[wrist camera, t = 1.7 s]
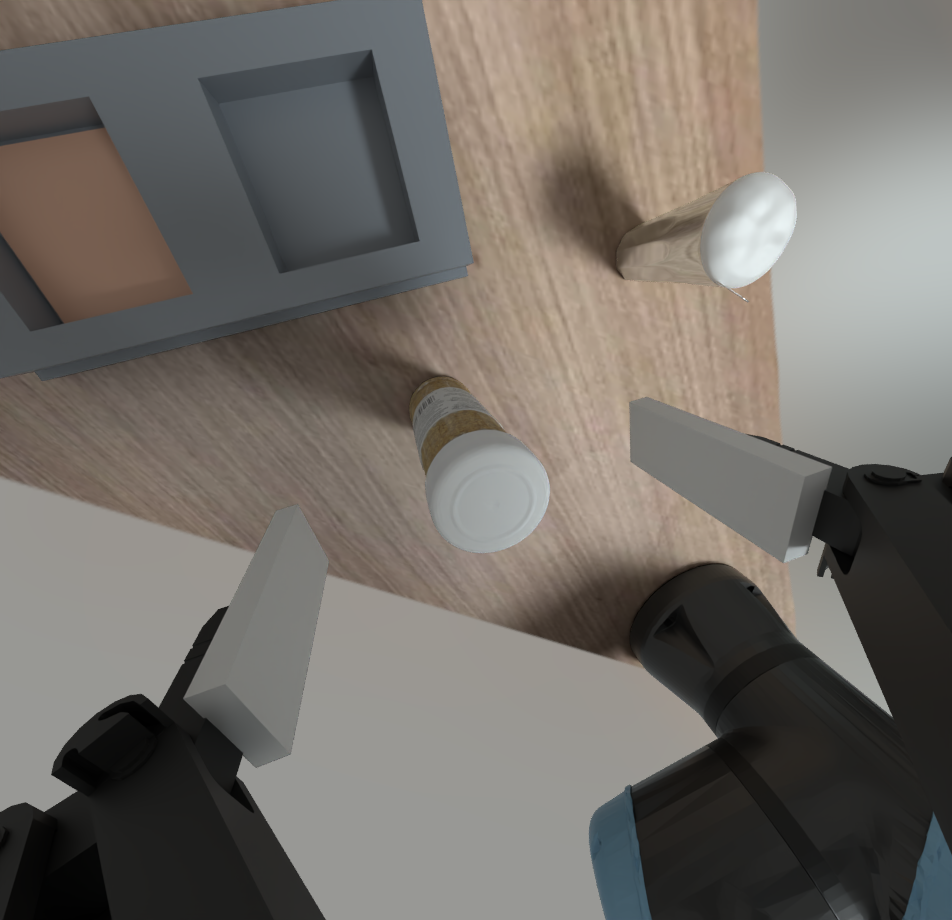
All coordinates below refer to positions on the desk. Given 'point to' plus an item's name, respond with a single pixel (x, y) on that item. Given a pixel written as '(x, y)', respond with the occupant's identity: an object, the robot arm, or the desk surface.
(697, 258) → the milkshake
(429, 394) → the sprinkles bottle
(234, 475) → the desk surface
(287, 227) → the two-pocket grey tray
